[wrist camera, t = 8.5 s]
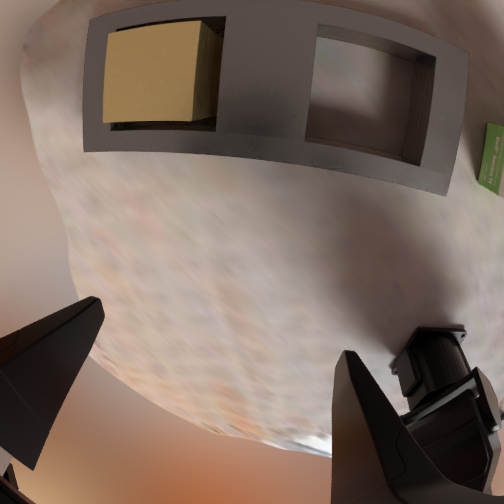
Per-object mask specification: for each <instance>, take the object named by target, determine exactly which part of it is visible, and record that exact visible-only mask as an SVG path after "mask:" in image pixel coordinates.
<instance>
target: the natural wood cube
mask: <svg viewBox="0 0 504 504" xmlns="http://www.w3.org/2000/svg"><path fill="white" fill-rule="evenodd" d="M223 42H224V40H223V39H222V38H221V37H220V36H219V35H217V34H216V33H215V32H214V31H213V30H212V29H210V28H209V27H208V26H207V25H206V24H204V23H203V22H202V21H189V22H177V23H168V24H160V25H152V26H146V27H140V28H134V29H129V30H124V31H119V32H114V33H110V34H108V42H107V51H106V61H105V74H104V93H103V123H110V122H128V121H195V120H200V119H205V118H210V117H215V116H217V109H218V96H219V84H220V73H221V62H222V52H223Z"/></svg>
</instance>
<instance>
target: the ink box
mask: <svg viewBox="0 0 504 504" xmlns="http://www.w3.org/2000/svg"><path fill="white" fill-rule="evenodd" d="M478 183H479V184H480V185H482V186H484V187H485V188H487V189H489V190H490V191H492V192H493V193H495V194H497V195H498V196H500V197H501V198H503V199H504V126H501V125H497V124H493V123H489V122H488V123H487V131H486V140H485V147H484V153H483V159H482V164H481V170H480V174H479V179H478Z"/></svg>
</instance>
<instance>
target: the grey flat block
mask: <svg viewBox="0 0 504 504" xmlns="http://www.w3.org/2000/svg"><path fill="white" fill-rule="evenodd" d="M189 21H202V22H203V23H204V24H206V25H207V26H208V27H209V28H210V29H225V33H224V42H223V52H222V62H221V73H220V84H219V96H218V109H217V123H216V126H196V125H135V121H128V122H110V123H103V93H104V74H105V61H106V51H107V42H108V34H110V33H114V32H119V31H124V30H129V29H134V28H140V27H146V26H152V25H160V24H168V23H177V22H189ZM316 36H317V37H323V38H329V39H334V40H339V41H344V42H348V43H353V44H357V45H361V46H365V47H369V48H373V49H376V50H380V51H383V52H387V53H390V54H393V55H396V56H399V57H402V58H405V59H408V60H411V61H414V62H415V71H414V81H413V89H412V97H411V105H410V112H409V118H408V124H407V130H406V136H405V141H404V147H403V152H402V156H399V155H395V154H391V153H387V152H383V151H379V150H375V149H370V148H366V147H362V146H357V145H352V144H347V143H342V142H337V141H332V140H326V139H321V138H315V137H309V136H305V133H306V125H307V117H308V109H309V101H310V92H311V84H312V75H313V66H314V56H315V46H316ZM468 68H469V53H468V52H466V51H464V50H462V49H460V48H458V47H456V46H454V45H452V44H450V43H448V42H446V41H444V40H441V39H439V38H437V37H435V36H432V35H430V34H427V33H425V32H422V31H420V30H417V29H415V28H412V27H409V26H407V25H404V24H401V23H398V22H395V21H392V20H389V19H386V18H382V17H379V16H375V15H372V14H368V13H364V12H360V11H356V10H352V9H348V8H343V7H338V6H333V5H328V4H322V3H316V2H309V1H301V0H176V1H169V2H162V3H156V4H150V5H145V6H140V7H135V8H130V9H126V10H122V11H118V12H114V13H110V14H107V15H103V16H100V17H96V18H93V19H90V22H89V28H88V36H87V44H86V53H85V65H84V80H83V148H84V152H106V151H139V152H173V153H192V154H206V155H219V156H230V157H241V158H250V159H259V160H267V161H275V162H283V163H290V164H297V165H303V166H310V167H316V168H322V169H328V170H333V171H339V172H344V173H349V174H354V175H359V176H364V177H369V178H374V179H378V180H383V181H387V182H391V183H396V184H400V185H404V186H408V187H412V188H416V189H420V190H423V191H427V192H431V193H434V194H438V195H441V196H445V197H446V195H447V191H448V188H449V184H450V180H451V176H452V172H453V168H454V164H455V160H456V155H457V150H458V145H459V140H460V135H461V129H462V123H463V117H464V109H465V102H466V93H467V82H468Z"/></svg>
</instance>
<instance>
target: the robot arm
mask: <svg viewBox="0 0 504 504" xmlns="http://www.w3.org/2000/svg"><path fill="white" fill-rule="evenodd" d="M104 318H105V314H104V310H103V306H102V302H101V300H100V299H99V298H97V297H94V296H89V297H87V298H85V299H83V300H81V301H78V302H76V303H74V304H72V305H70V306H68V307H66V308H63V309H61V310H59V311H57V312H55V313H53V314H51V315H48V316H47V317H44V318H42V319H40V320H38V321H36V322H34V323H32V324H29V325H27V326H25V327H23V328H21V329H20V330H17V331H15V332H13V333H11V334H9V335H6V336H4V337H2V338H0V504H35V503H34V502H33V501H31V500H30V499H29V498H28V497H26V496H25V495H24V494H22V493H21V492H20V491H19V490H18V489H19V488H18V485H17V481H16V478H15V474H14V470H13V466H12V464H11V463H10V461H11V460H12V458H13V457H14V458H16V459H17V460H18V461H20V462H21V463H22V464H24V465H25V466H27V467H28V468H30V469H31V470H32V471H33V470H34V468H35V466H36V463H37V461H38V458H39V456H40V453H41V451H42V449H43V446H44V444H45V441H46V439H47V437H48V434H49V431H50V430H51V427H52V425H53V423H54V421H55V418H56V416H57V414H58V412H59V410H60V408H61V406H62V404H63V402H64V400H65V398H66V396H67V394H68V392H69V390H70V388H71V386H72V384H73V382H74V380H75V378H76V376H77V375H78V373H79V371H80V369H81V367H82V365H83V363H84V361H85V360H86V358H87V356H88V354H89V352H90V350H91V348H92V346H93V344H94V341H95V339H96V337H97V334H98V332H99V330H100V328H101V325H102V323H103V321H104ZM466 335H467V332H466V330H465V329H443V328H424V327H420V328H418V329H416V331H415V332H414V334H413V336H412V337H411V339H410V341H409V342H408V344H407V346H406V347H405V349H404V351H403V352H402V354H401V355H400V357H399V359H398V360H397V362H396V363H395V365H394V366H393V368H392V370H391V371H392V375H398V377H399V382H400V386H401V390H402V395H403V396H404V397H407V401H408V405H409V410H410V412H408V413H406V414H405V415H401V416H399V415H398V414H397V412H396V411H395V409H394V408H393V406H392V405H391V403H390V402H389V400H388V399H387V397H386V396H385V394H384V393H383V391H382V390H381V388H380V387H379V385H378V384H377V382H376V381H375V379H374V378H373V376H372V375H371V373H370V372H369V370H368V369H367V367H366V366H365V365H364V363H363V362H362V360H361V359H360V357H359V356H358V354H357V353H356V352H355V351H350V350H344V351H343V352H342V354H341V356H340V358H339V360H338V362H337V364H336V367H335V376H334V388H333V399H332V483H331V485H332V486H331V504H504V496H493V495H492V491H491V482H492V479H493V476H494V473H495V470H496V466H497V463H498V460H499V456H500V452H501V445H500V441H499V438H498V434H497V431H498V430H499V429H501V419H500V412H499V406H498V400H497V397H496V394H495V392H494V390H493V388H492V385H491V383H490V381H489V380H488V379H487V377H486V376H485V375H484V374H483V373H482V372H481V371H480V369H479V368H478V367H477V366H476V367H475V368H474V369H473V370H472V371H471V369H470V367H469V364H468V362H467V360H466V357H465V355H464V353H463V351H462V348H461V346H460V344H461V343H462V342H463V340H464V338H465V337H466ZM478 395H479V397H477V396H478Z"/></svg>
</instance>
